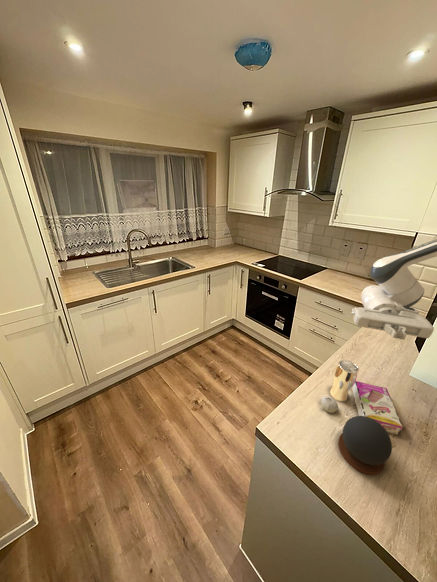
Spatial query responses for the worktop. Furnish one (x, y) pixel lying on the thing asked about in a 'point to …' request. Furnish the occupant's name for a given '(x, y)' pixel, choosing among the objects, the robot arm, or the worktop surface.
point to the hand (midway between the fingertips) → (399, 336)
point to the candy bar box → (376, 406)
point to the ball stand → (365, 445)
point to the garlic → (329, 404)
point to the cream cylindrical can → (344, 379)
